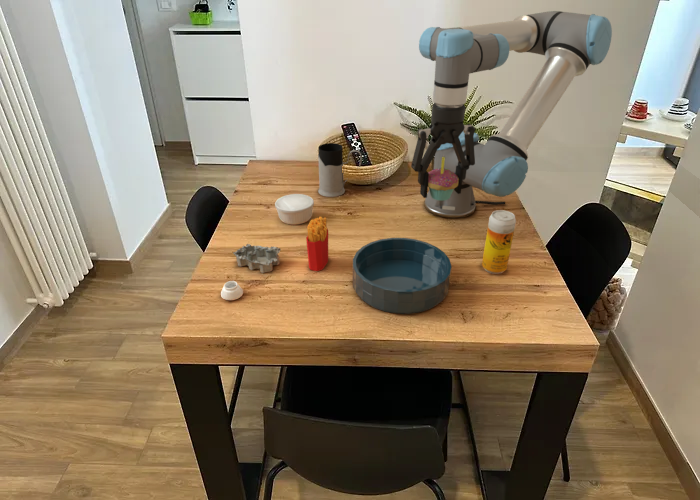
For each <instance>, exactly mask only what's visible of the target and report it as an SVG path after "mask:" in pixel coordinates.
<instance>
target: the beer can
mask: <svg viewBox="0 0 700 500" xmlns="http://www.w3.org/2000/svg"><path fill="white" fill-rule="evenodd" d="M516 224H517V219H516V215H515V214H514V213H513V212H512V211H509V210H503V209H497V210H494V211H492V212H491V214H490V216H489V217H488V224H487V230H486V237H485V242H484V248H483V255H482V261H481V267H482V268H483V270H484V271H485V272H487V273H489V274H493V275H501V274H502V273H504V272H505V271H506V270H507V269H508V264H509V260H510V255H511V249H512V245H513V238H514V234H515V229H516Z"/></svg>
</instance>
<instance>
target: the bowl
mask: <svg viewBox="0 0 700 500" xmlns="http://www.w3.org/2000/svg"><path fill="white" fill-rule="evenodd" d="M452 267H453V265H452V263H451V259H450V257H448V255H447V254H446V253H445V252H444V251H443V250H442V249H441V248H439V247H438V246H436V245H433V244H431V243H429V242H427V241H424V240H420V239H417V238H408V237H388V238H387V237H386V238H382V239H377V240H373V241H370V242H368V243H367V244H365V245H363V246H362V247H360V248H359V249H358V250H357V251H356V252H355V254H354V256H353V258H352V287H353V290H354V292H355V294H356V295H357V296H358V297H359V298H360V299H361V300H362V301H363V302H364V303H366V304H367V305H368V306H370V307H372V308H374V309H377V310H379V311H382V312H386V313H390V314H396V315H412V314H418V313H422V312H426V311H429V310H430V309H433V308H435V307H436V306H438V305H439V304H440V303H441V302H443V301H444V300H445V298H446V297H447V296H448V294H449V289H450V284H451V283H450V282H451V275H452Z"/></svg>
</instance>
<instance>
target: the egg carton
mask: <svg viewBox="0 0 700 500" xmlns="http://www.w3.org/2000/svg"><path fill="white" fill-rule="evenodd" d="M281 251H282V250H281V248H280V247H278V246H270V247H269V246H262V245H252V244H250V243H247V244H246V245H243V246H242V247H240V248H239V249H236V251H234V252H233V251H232V253H233V256H235V257H236V263H237V266H238V267H245V266H248V269H249V270H251V271H254V270H255V269H258V270H259V271H260V273H261V274H264V273H269V272H272V271H273V270H274V269H273V267H274V266H278V265H280V263H281V262H280V255H279V254H280V252H281Z"/></svg>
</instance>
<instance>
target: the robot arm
mask: <svg viewBox="0 0 700 500" xmlns="http://www.w3.org/2000/svg"><path fill="white" fill-rule="evenodd" d="M612 36H613V28H612V24H611V22H610V20H609V18H608V17H606V16H603V15H598V14H597V15H596V14H595V13H591V14H586V13H585V14H584V13H578V12H577V13H576V12H567V11H560V10H551V11H550V10H549V11H543V12H536V13H530V14H524V15H519V16H517V17H515V18H514V19H513V20H507V21H498V22H491V23H481V24H473V25H464V26H457V27H446V28H444V27H443V28H442V27H440V26H430V27H427V28H426V29H424V31H423V32H422V33H421V34H420V38H419V41H418V42H419V43H418V50H419V53H420V55H421V56H422V57H423V58H425V59H428V60H430V61H432V62H435V64H434V65H435V67H434V82H433V92H432V102H433V103H432V105H431V117H430V121H431V122H430V125H429V127H427V128H424V129H422V128H418V129H417V141H416V145H415V149H414V152H413V157H412V161H411V166H410V168H411V169H412V170H413V171H414V172H415V173H417V183H418V184H419V186H420V189H419V194H420V195H421V196H422V198H423V199H424V208H425V209H426V211H427V212H429V213H430V214H432V215H435V216H437V217H441V218H445V219H462V218H466V217H468V216H471V215H472V214H474V212H475V210H476V204H477V205H490V206H500V205H501V206H505V205H506V201H487V200H476V197H475V193H474V189H473V188H476V189H478V190H480V191H482V192H484V193H485V194H488V195H493V196H495V197H498V198H504V197H507V196H510V195H511V194H513V193H515V192H516V191H517V190H518V189H519V188H520V187H521V186H522V184H523V183H524V181H525V180H526V177H527V173H528V171H529V164H528V161H527V160H528V158H529V155H528V154H529V153H528V148H529V147H530V145H531V144H532V143H533V141H534V139H535V138H536V137H537V135H538V133H539V132H540V130H541V128H542V127H543V126H544V124H545V122H546V121H547V119H548V118H549V116H550V115H551V113H552V112H553V111H554V109H555V107H556V106H557V104H558V103H559V101H560V99H561V98H562V97H563V95H564V94H565V92H566V91H567V89H568V87H569V86H570V85H571V83H572V81H573V80H574V79H575V77H579V76H582V75H583V74H585V72H586V71H587V70H588V68H589V66H590V65H591V66H598V65H600V64H601V63H603V61H604V60H605V58H606V57H607V56H608V53H609V50H610V47H611V44H612ZM512 51H514V52H516V53H519V54H520V53H522V54H523V53H531V54H536V55H541V56H544V57H545V63H544V64H543V65H542V67H541V68H540V70H539V72H538V73H537V74H536V76H535V78H534V80H533V81H532V82H531V84H530V85H529V87H528V89H527V90H526V91H525V93H524V95H523V96H522V98H521V99H520V101H519V102H518V104H517V105H516V107H515V108H514V110H513V111H512V113H511V114H510V116H509V117H508V119H507V120H506V122H505V124H504V125H503V126H502V128H501V129H500V131H499V133H496V134H492V135H490V136H489V138H488V139H487V141H485V144H484V143H481V142H479V141H480V138H479V135H478V133H477V132H476V127H475V126H473V125H472V124H471V123H467V124H464V121H465V117H466V116H465V114H466V105H465V104H466V103H467V99H468V98H467V96H468V88H469V78H470V75H471V74H474V73H480V72H485V71H492V70H494V69H496V68H499V67H501V66H503V65H504V64H506V62H507V60H508V58H509V55H510V52H512ZM429 135H431V138H430V140H429V144H428V146H427V148H426V145H427V139H429ZM425 150H426V151H425ZM443 155H444V157H445V161H444V168H445V169H448V170H450V171H452V172H454V173H455V174H456V175H457V176H458V178H459V180H458V182H459V183H458V186H457V187H456V188H454V190H453V192H452V194H451V196H450V198H449V199H448V200H443V201H440V200H435V199H433V198H432V197H431V194H430V190H429V187H428V178H429V173H428V172H429V171H428V169H429V167H430V165H431V164H432V161H433V159H434V161H433V170H434V169H439V168H441V164H442V157H443Z"/></svg>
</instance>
